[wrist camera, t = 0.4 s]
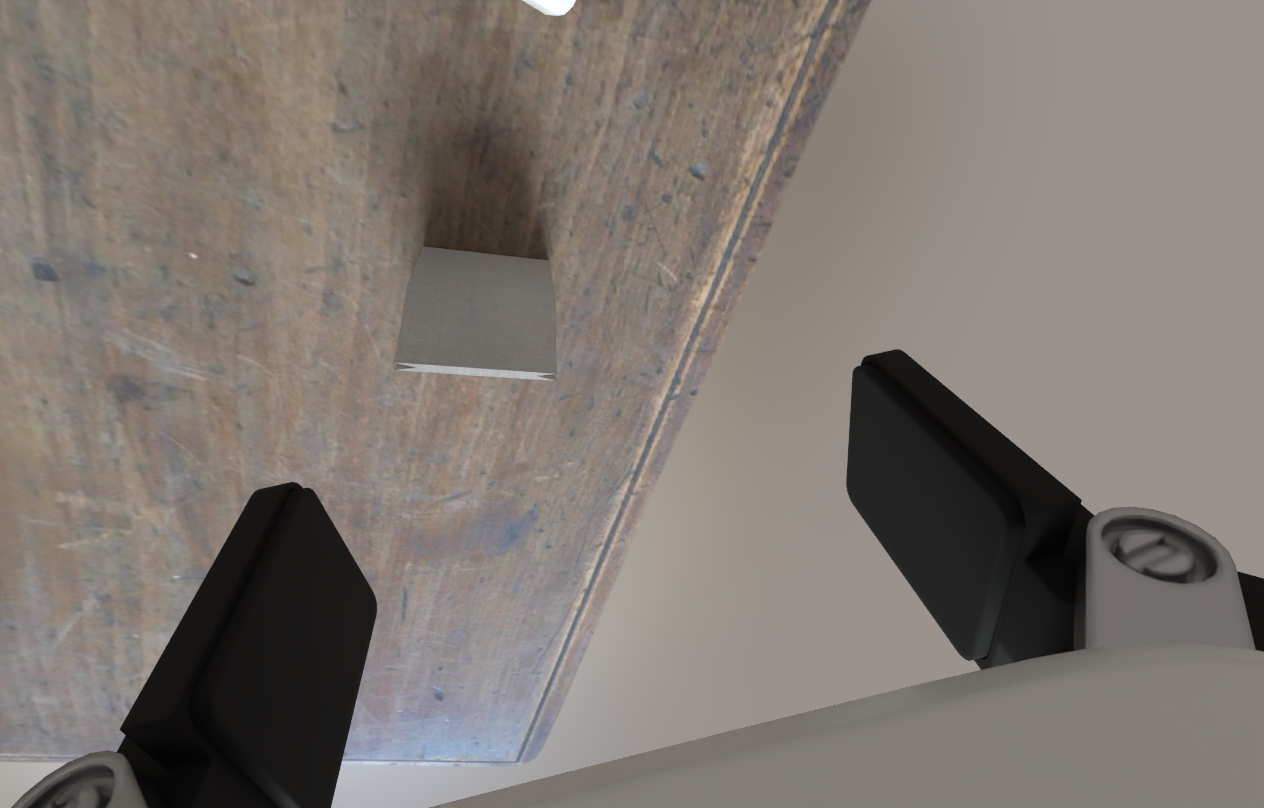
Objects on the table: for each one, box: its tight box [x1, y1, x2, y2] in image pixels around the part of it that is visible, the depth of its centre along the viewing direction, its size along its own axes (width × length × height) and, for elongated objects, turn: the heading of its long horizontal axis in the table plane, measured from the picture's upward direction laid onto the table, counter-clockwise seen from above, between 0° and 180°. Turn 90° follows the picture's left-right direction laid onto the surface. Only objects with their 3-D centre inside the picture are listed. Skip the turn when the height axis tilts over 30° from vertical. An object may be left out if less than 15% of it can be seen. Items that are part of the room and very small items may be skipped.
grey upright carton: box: [394, 246, 557, 381], centre depth 30 cm, size 4×7×10 cm, turn 80°
